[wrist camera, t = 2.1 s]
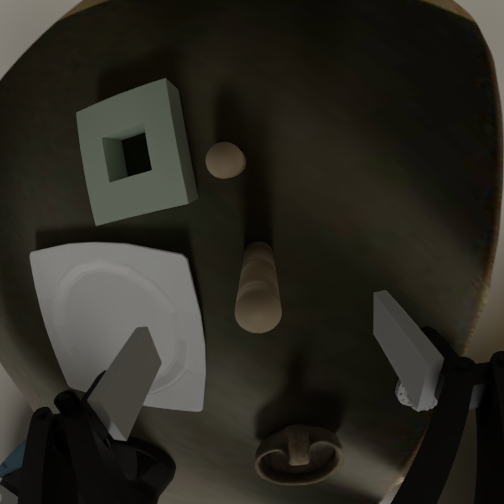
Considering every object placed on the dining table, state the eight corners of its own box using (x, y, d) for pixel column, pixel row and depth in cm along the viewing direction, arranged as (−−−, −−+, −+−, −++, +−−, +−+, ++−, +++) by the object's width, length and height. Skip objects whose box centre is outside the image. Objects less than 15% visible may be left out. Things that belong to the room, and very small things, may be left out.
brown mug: (259, 462, 42) (258, 507, 32) (246, 401, 37) (243, 457, 27) (335, 454, 41) (344, 497, 31) (343, 390, 36) (360, 442, 27)
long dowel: (247, 270, 31) (239, 335, 19) (242, 243, 31) (230, 295, 18) (275, 265, 31) (284, 329, 19) (270, 238, 30) (278, 288, 18)
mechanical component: (449, 340, 34) (392, 367, 35) (463, 356, 30) (403, 387, 31) (446, 383, 37) (395, 408, 38) (458, 399, 32) (404, 426, 34)
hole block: (115, 217, 30) (95, 225, 26) (97, 117, 27) (76, 112, 23) (198, 198, 29) (188, 203, 25) (178, 89, 26) (165, 78, 22)
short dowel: (219, 179, 29) (209, 181, 23) (213, 150, 28) (202, 146, 22) (248, 173, 29) (245, 174, 23) (243, 144, 28) (239, 138, 22)
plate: (34, 239, 32) (22, 244, 29) (201, 238, 31) (196, 244, 28) (73, 381, 38) (66, 390, 36) (213, 404, 38) (211, 417, 35)
